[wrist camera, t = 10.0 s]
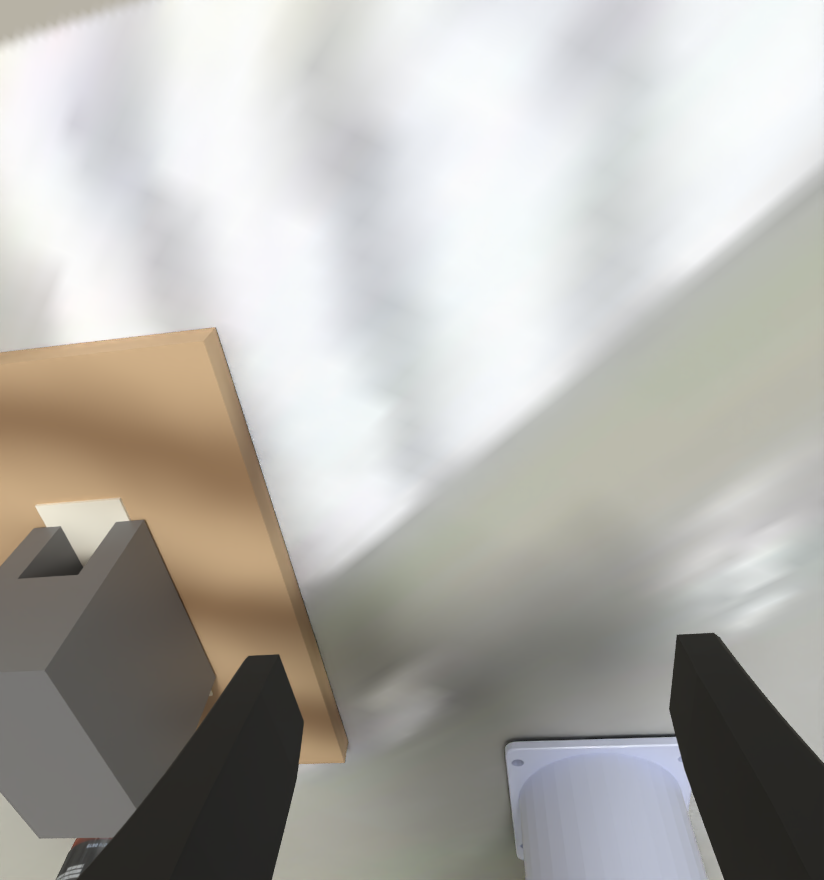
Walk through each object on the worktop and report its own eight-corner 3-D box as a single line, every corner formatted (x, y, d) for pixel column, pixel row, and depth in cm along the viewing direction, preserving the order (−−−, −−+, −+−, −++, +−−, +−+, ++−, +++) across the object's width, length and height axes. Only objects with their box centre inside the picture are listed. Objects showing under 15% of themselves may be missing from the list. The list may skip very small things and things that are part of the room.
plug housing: (215, 677, 25) (155, 837, 20) (122, 681, 26) (39, 838, 21) (143, 519, 21) (44, 670, 16) (33, 528, 22) (-97, 677, 17)
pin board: (348, 741, 29) (337, 809, 26) (102, 748, 30) (69, 813, 28) (215, 327, 19) (177, 372, 16) (-147, 369, 20) (-235, 417, 18)
